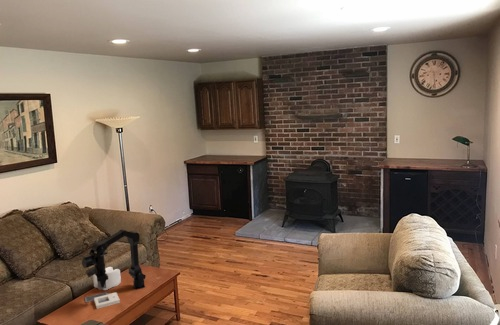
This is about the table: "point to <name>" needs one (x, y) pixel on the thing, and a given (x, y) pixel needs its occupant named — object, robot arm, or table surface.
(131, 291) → the table surface
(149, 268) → the table surface
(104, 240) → the robot arm
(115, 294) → the outlet plate
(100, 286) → the charger
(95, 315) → the table surface
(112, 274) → the cable organizer
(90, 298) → the phone
